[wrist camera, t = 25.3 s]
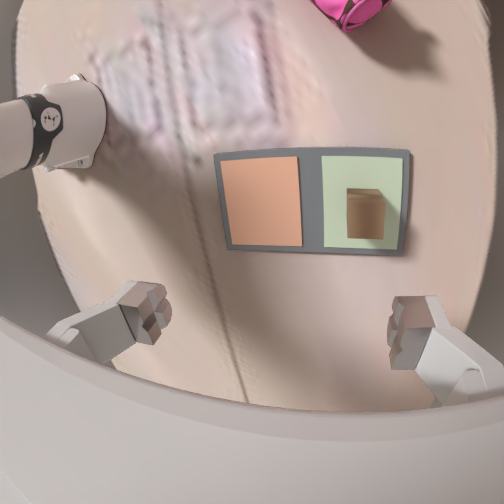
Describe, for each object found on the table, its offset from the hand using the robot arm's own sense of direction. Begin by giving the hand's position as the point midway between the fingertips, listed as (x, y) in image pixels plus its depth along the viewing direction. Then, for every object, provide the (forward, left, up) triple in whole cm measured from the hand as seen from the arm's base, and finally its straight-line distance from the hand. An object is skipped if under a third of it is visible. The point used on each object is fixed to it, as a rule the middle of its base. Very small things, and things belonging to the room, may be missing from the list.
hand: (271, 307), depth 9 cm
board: (-1, -5, -28) cm, 29 cm away
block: (+5, -5, -27) cm, 28 cm away
